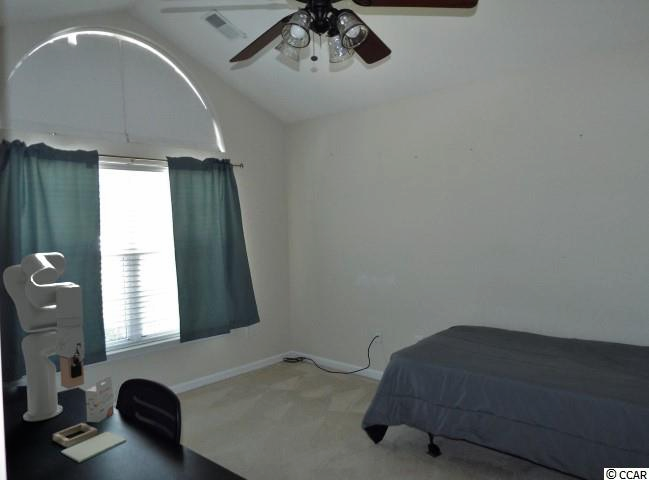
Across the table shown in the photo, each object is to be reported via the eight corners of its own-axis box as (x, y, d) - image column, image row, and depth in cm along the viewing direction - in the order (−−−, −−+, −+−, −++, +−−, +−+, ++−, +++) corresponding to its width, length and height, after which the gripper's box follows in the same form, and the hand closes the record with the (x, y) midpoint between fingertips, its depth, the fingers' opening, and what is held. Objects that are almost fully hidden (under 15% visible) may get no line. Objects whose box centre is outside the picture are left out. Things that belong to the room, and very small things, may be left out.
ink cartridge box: (102, 412, 165) (101, 374, 164) (114, 412, 164) (112, 374, 163) (86, 422, 156) (84, 382, 156) (98, 423, 156) (96, 383, 155)
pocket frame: (52, 440, 144) (52, 434, 144) (82, 428, 152) (82, 422, 152) (67, 447, 138) (67, 441, 138) (97, 434, 146) (97, 429, 146)
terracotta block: (61, 386, 144) (59, 356, 143) (76, 381, 148) (75, 352, 148) (68, 388, 141) (67, 358, 141) (84, 384, 145) (82, 354, 145)
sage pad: (61, 452, 135) (61, 450, 135) (107, 432, 148) (107, 431, 148) (79, 462, 129) (79, 460, 129) (126, 441, 142) (126, 439, 142)
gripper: (45, 321, 145) (48, 374, 146) (71, 327, 136) (73, 383, 137) (68, 317, 151) (71, 367, 152) (94, 322, 142) (97, 376, 143)
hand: (72, 374), depth 144 cm, fingers closed on terracotta block, 5 cm apart
